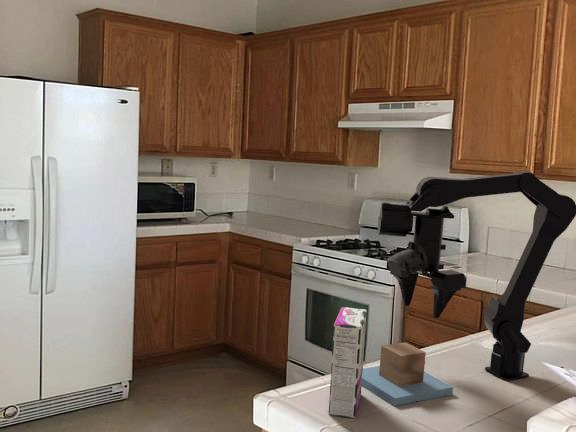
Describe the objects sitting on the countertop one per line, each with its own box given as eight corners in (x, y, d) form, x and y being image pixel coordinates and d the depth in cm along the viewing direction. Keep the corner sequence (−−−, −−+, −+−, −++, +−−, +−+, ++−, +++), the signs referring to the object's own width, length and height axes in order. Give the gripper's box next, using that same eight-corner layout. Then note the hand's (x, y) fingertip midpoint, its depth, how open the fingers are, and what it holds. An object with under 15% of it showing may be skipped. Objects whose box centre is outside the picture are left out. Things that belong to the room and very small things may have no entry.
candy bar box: (334, 390, 120) (341, 305, 117) (361, 394, 119) (368, 308, 117) (326, 415, 109) (332, 322, 107) (355, 420, 108) (362, 326, 106)
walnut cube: (403, 371, 127) (405, 342, 127) (422, 382, 122) (425, 352, 121) (379, 375, 125) (381, 345, 124) (398, 386, 119) (401, 356, 119)
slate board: (405, 368, 133) (405, 361, 133) (452, 394, 121) (453, 387, 121) (349, 377, 126) (350, 370, 126) (394, 406, 114) (394, 398, 114)
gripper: (369, 231, 135) (363, 303, 137) (428, 248, 119) (420, 329, 121) (410, 230, 140) (404, 299, 142) (471, 246, 124) (464, 323, 126)
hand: (421, 311), depth 133 cm, fingers open, 9 cm apart
